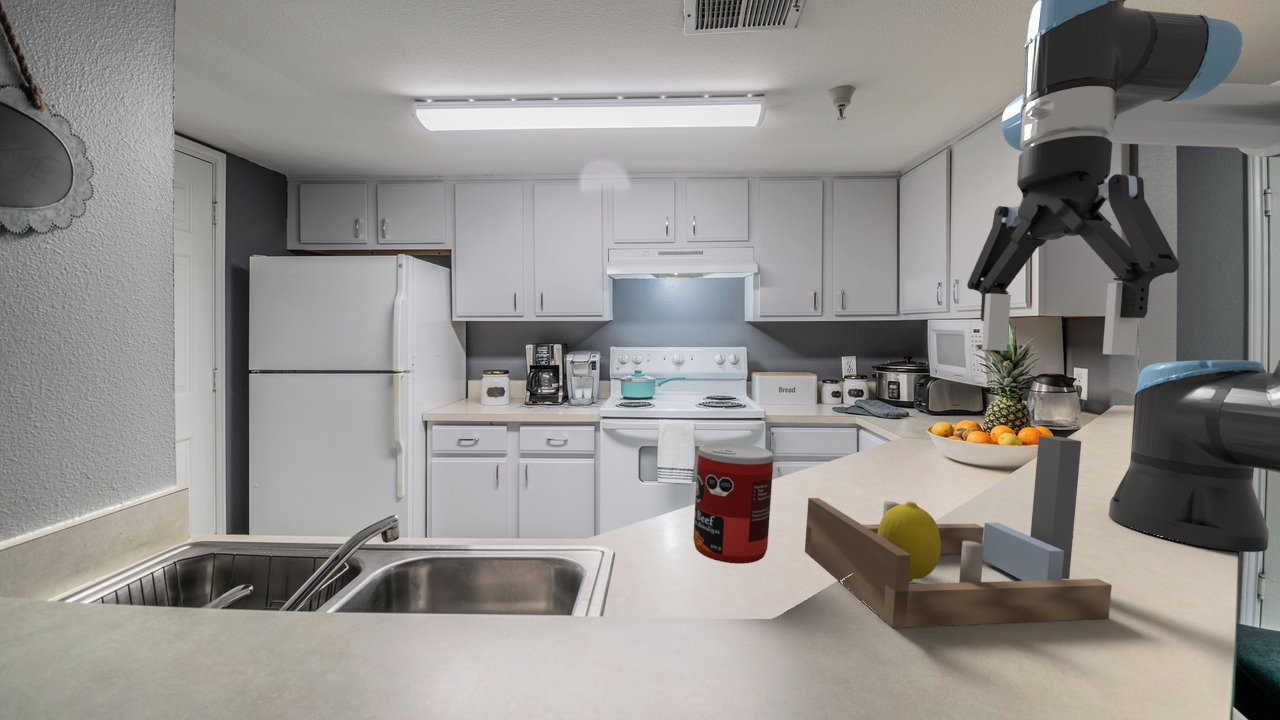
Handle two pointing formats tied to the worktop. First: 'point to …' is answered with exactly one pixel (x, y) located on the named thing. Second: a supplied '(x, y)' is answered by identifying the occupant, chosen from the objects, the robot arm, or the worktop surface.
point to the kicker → (1042, 518)
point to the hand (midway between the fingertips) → (1049, 352)
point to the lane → (938, 604)
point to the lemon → (913, 536)
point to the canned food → (733, 502)
